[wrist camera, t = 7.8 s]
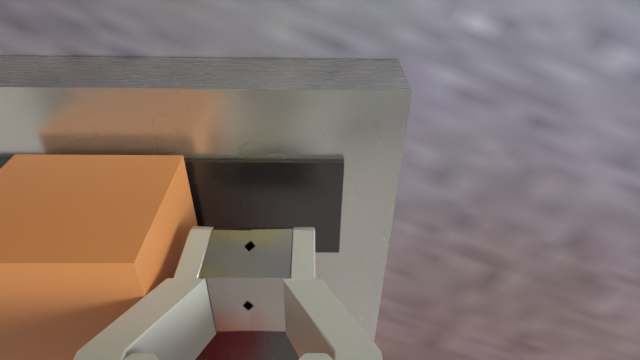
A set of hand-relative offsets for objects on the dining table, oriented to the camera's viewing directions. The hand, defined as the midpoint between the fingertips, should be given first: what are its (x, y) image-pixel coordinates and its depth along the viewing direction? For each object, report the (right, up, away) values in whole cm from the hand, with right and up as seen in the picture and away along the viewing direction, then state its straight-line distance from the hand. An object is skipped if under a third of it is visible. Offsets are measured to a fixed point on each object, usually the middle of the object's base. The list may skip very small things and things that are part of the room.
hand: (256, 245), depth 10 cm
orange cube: (-4, +1, +1) cm, 4 cm away
